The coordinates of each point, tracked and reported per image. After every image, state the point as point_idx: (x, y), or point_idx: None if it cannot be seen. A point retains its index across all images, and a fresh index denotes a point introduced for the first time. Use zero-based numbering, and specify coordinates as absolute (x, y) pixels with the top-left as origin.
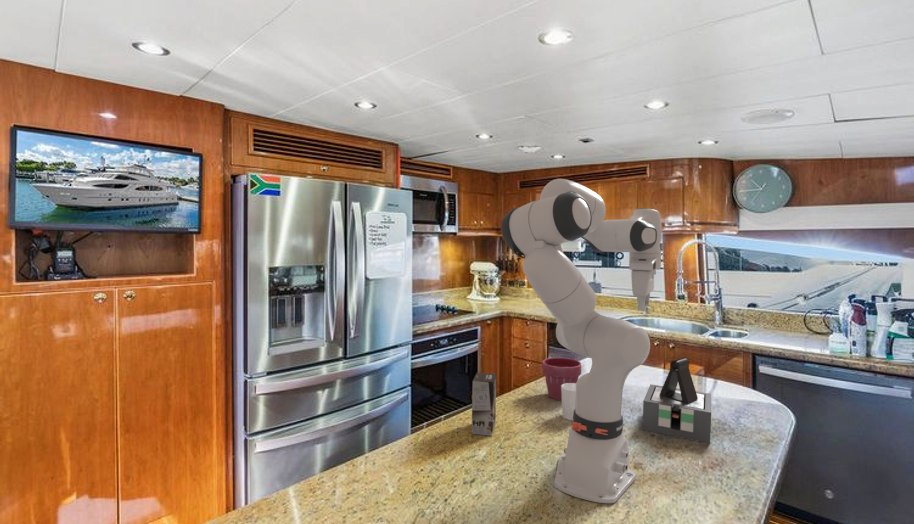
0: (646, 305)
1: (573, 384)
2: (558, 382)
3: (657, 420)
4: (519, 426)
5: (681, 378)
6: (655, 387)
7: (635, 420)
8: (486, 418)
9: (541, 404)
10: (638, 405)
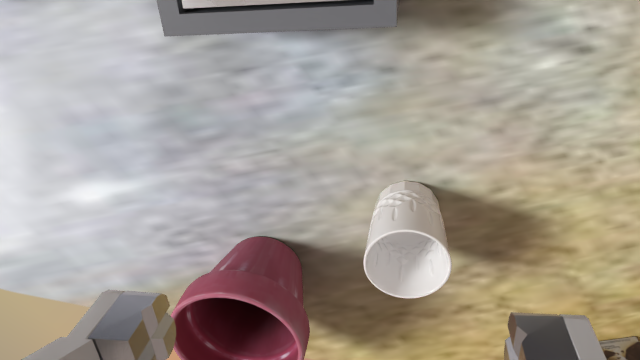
0: (162, 310)
1: (368, 270)
2: (302, 304)
3: None
4: (545, 301)
5: None
6: (180, 11)
7: (327, 40)
8: None
9: (361, 292)
10: (185, 56)
